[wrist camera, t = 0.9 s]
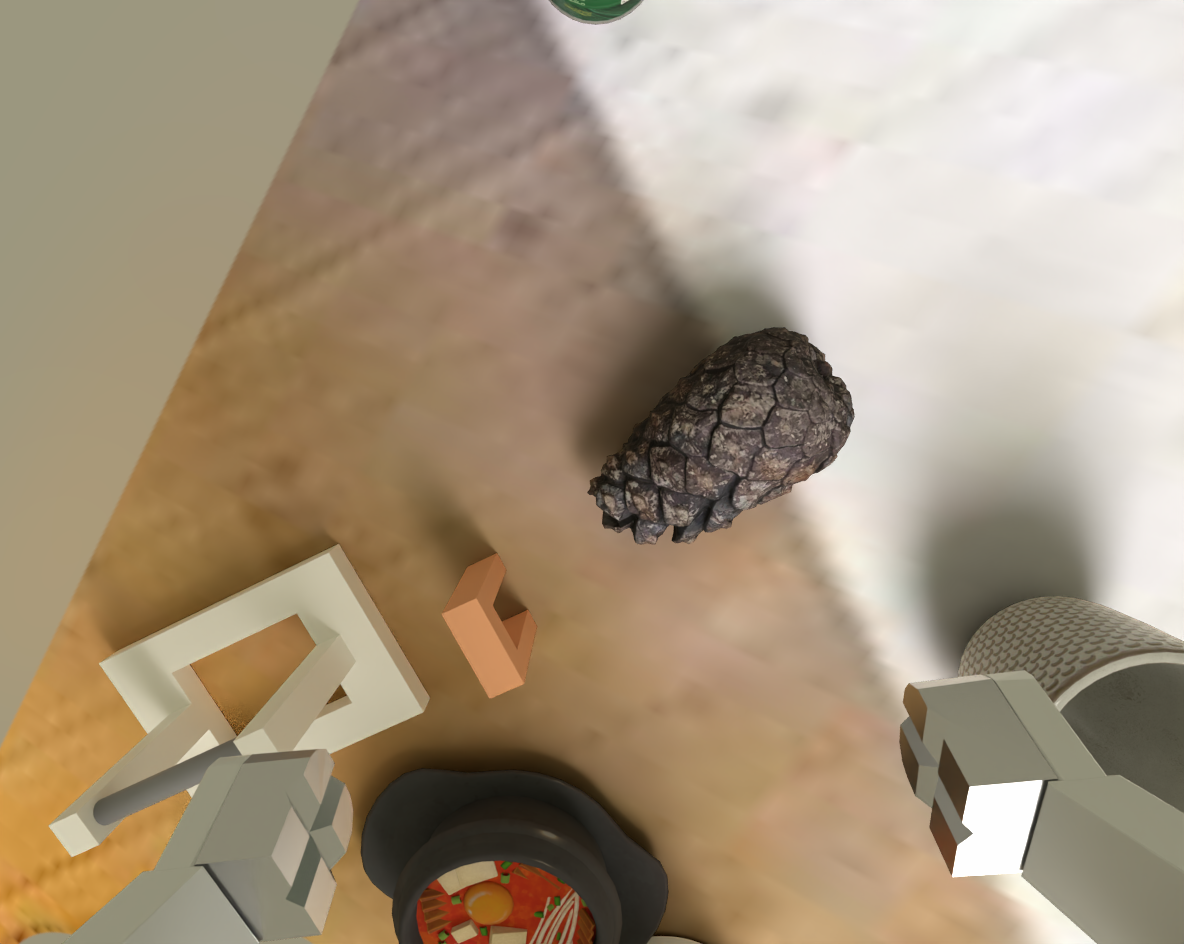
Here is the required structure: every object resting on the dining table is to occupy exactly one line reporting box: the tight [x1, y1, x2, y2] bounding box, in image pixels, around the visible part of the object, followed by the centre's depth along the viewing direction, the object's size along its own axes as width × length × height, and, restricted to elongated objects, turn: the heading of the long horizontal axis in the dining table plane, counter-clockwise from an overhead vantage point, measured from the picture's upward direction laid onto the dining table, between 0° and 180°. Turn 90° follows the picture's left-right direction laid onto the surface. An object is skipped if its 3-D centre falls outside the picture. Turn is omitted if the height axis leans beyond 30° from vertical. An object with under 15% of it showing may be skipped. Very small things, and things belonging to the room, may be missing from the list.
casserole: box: [361, 768, 668, 944], centre depth 54 cm, size 25×19×8 cm
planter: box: [958, 596, 1184, 813], centre depth 47 cm, size 14×14×13 cm
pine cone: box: [587, 328, 855, 544], centre depth 46 cm, size 10×18×10 cm, turn 135°
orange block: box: [441, 553, 537, 699], centre depth 49 cm, size 6×2×8 cm, turn 26°
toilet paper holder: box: [49, 544, 430, 857], centre depth 48 cm, size 20×14×14 cm
